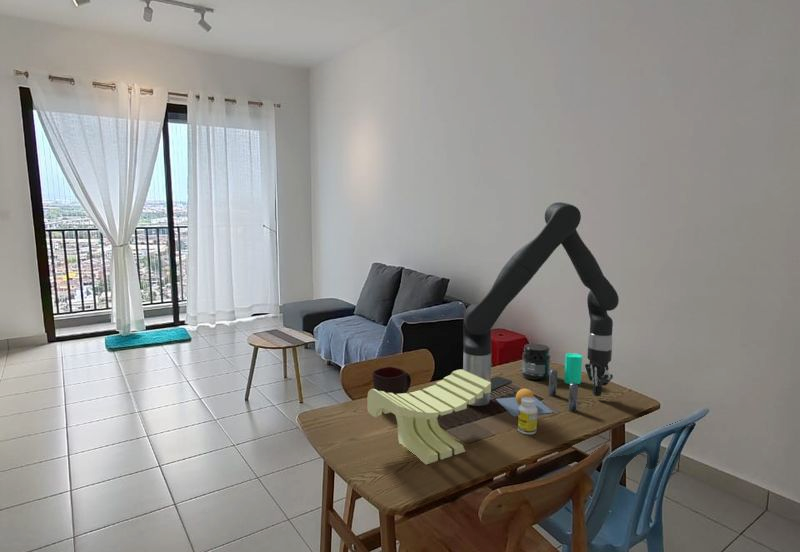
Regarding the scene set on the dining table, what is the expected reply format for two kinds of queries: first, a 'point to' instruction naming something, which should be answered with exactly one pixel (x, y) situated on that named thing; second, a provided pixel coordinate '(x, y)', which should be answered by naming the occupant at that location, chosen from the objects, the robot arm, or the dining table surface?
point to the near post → (573, 397)
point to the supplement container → (536, 362)
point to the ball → (523, 395)
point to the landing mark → (513, 406)
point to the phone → (498, 382)
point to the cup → (391, 380)
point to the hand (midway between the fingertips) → (596, 395)
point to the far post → (552, 382)
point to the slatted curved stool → (429, 413)
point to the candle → (573, 368)
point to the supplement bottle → (527, 416)
